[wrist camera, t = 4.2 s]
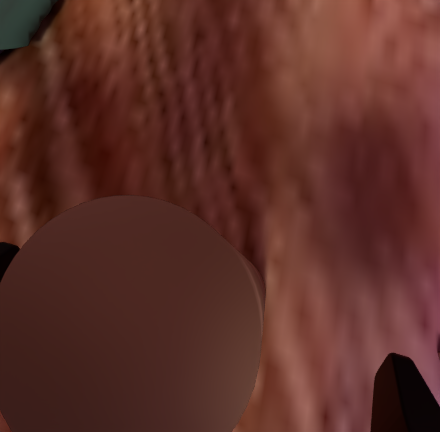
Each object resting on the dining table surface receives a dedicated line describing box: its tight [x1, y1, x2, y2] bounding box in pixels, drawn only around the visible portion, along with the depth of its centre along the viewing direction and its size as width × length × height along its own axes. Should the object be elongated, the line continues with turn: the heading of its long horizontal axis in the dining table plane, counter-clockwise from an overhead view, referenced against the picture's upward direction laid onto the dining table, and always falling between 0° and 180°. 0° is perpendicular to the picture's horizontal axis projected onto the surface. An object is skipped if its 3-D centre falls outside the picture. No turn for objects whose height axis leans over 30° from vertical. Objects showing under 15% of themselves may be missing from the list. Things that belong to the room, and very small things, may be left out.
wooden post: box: [0, 195, 266, 432], centre depth 11 cm, size 4×4×12 cm
